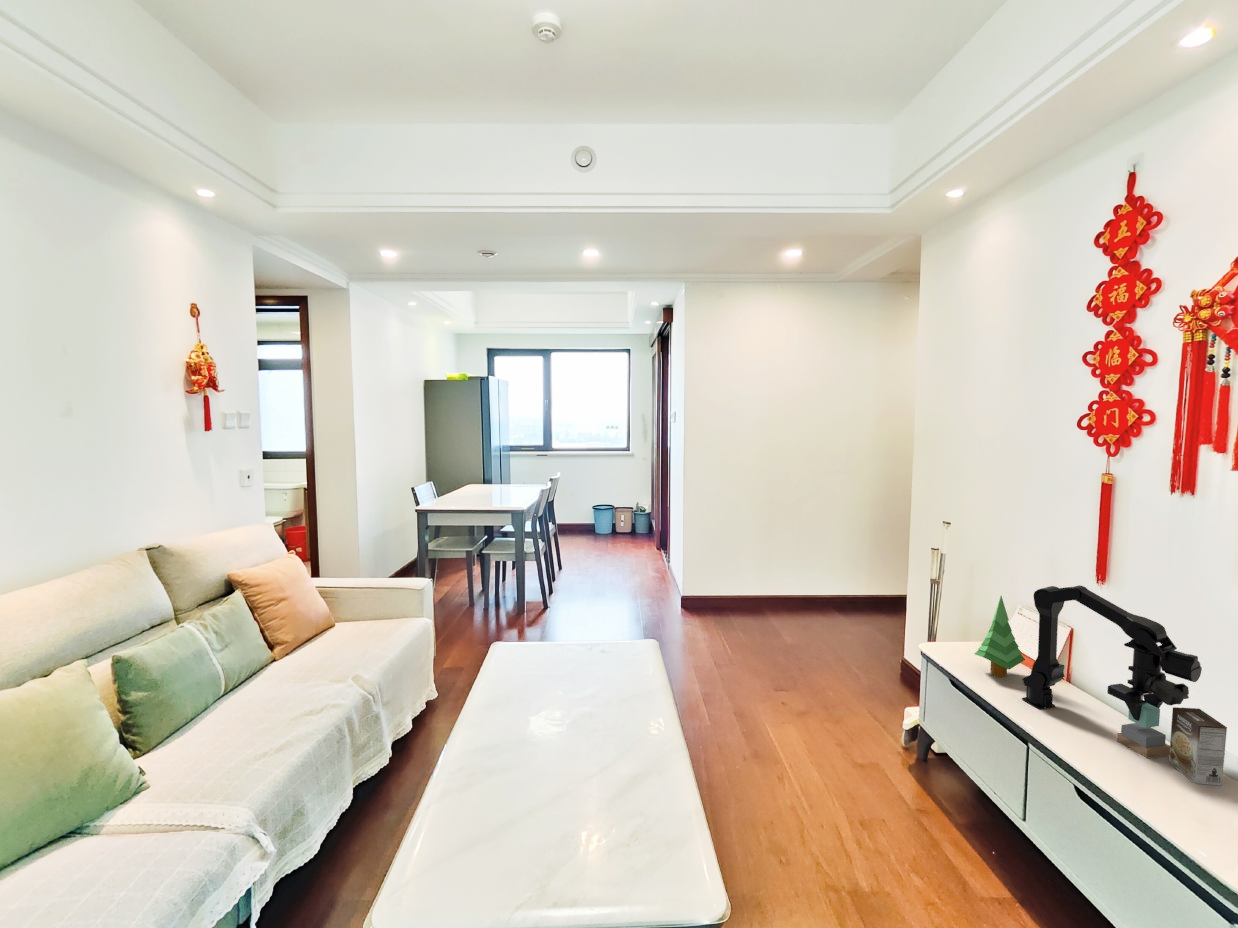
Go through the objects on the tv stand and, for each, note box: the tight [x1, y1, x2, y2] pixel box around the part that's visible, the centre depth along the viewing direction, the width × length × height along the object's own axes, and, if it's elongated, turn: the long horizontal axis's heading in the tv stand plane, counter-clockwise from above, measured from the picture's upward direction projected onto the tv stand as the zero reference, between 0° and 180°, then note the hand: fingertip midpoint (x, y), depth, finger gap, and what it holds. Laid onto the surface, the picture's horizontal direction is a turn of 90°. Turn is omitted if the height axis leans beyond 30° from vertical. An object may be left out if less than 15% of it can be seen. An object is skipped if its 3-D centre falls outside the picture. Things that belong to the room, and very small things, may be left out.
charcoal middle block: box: [1120, 722, 1167, 748], centre depth 157 cm, size 6×6×3 cm
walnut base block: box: [1116, 732, 1170, 759], centre depth 157 cm, size 8×8×3 cm
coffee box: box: [1168, 706, 1228, 786], centre depth 145 cm, size 9×6×16 cm
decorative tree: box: [974, 595, 1026, 678], centre depth 201 cm, size 14×16×30 cm
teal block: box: [1127, 703, 1161, 728], centre depth 156 cm, size 4×4×5 cm
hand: (1143, 718), depth 157 cm, fingers closed on teal block, 4 cm apart
